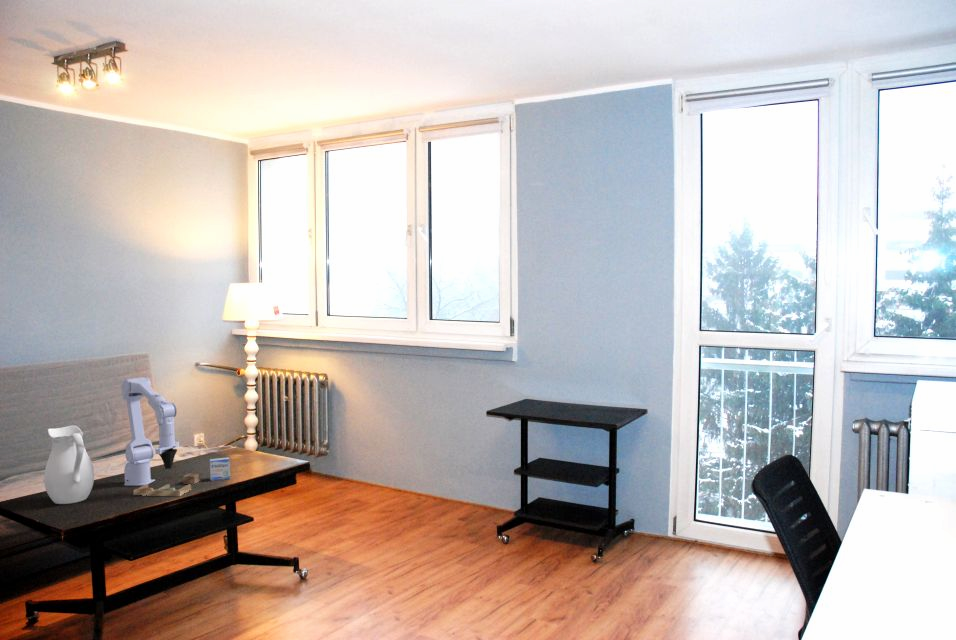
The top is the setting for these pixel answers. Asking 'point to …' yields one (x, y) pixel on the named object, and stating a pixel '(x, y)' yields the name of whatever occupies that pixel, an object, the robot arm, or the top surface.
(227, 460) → the medicine box
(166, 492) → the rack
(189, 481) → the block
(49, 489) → the pitcher
